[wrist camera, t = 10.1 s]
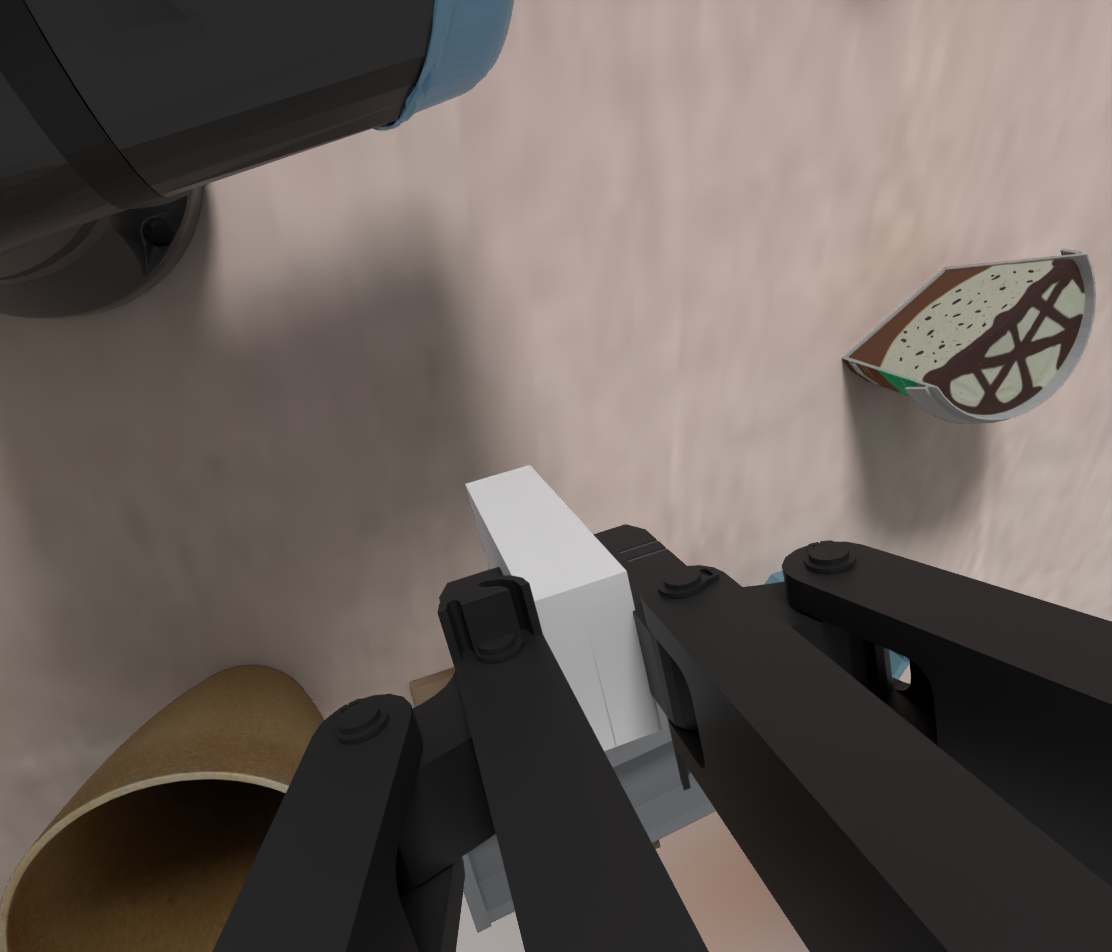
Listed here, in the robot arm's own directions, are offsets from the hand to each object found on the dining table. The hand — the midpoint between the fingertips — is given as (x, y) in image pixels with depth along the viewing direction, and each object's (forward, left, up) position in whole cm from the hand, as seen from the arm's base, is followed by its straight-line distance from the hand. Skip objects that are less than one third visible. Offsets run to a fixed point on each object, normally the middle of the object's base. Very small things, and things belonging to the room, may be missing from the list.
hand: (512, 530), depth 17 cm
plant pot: (-16, -18, -30) cm, 38 cm away
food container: (+33, -7, -30) cm, 45 cm away
